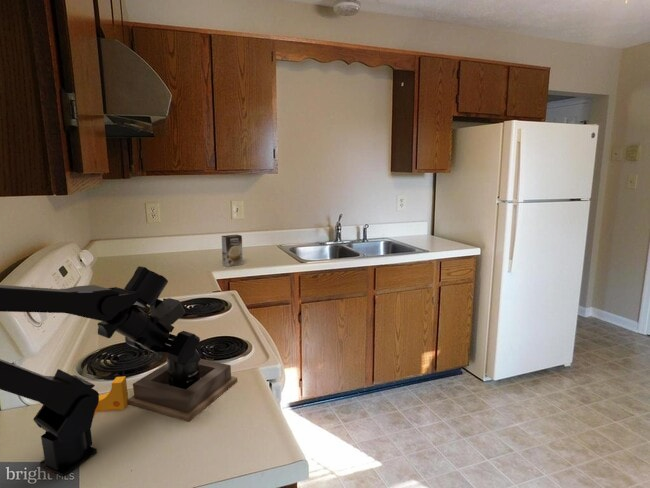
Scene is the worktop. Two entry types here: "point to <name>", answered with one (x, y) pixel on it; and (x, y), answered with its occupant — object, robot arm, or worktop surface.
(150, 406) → the grey-brown square frame
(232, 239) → the coffee box
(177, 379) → the supplement bottle
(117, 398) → the orange notched part
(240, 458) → the worktop surface
